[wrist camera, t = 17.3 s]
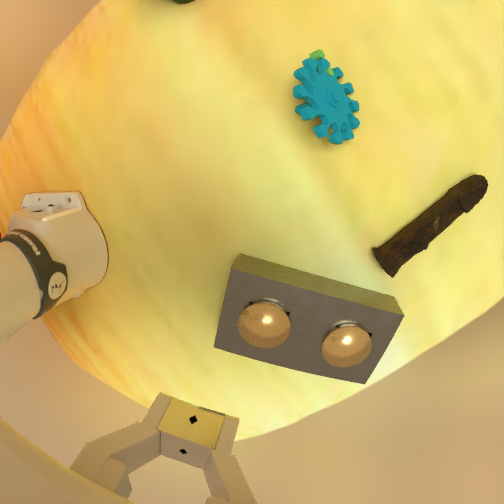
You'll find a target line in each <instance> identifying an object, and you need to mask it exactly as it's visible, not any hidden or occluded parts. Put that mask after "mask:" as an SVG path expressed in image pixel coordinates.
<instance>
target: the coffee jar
mask: <svg viewBox="0 0 504 504" xmlns="http://www.w3.org/2000/svg"><path fill="white" fill-rule="evenodd" d="M172 1H175V2H187V1H190V0H172Z"/></svg>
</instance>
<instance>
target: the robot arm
mask: <svg viewBox="0 0 504 504" xmlns="http://www.w3.org/2000/svg"><path fill="white" fill-rule="evenodd" d="M70 198H71V200H70ZM107 263H108V253H107V246H106V242H105V239H104V236H103V233H102V231H101V229H100V227H99V225H98V224H97V222H96V221H95V219H94V218H93V217H92V215H91V214H90V213H89V211H88V210H87V208H86V205H85V202H84V199H83V197H82V195H81V194H80V193H79V192H77V191H73V192H43V193H29V194H27V195H25V197H24V199H23V202H22V206H21V209H20V210H18V211H15V212H14V213H13V214H12V215H11V217H10V220H9V225H8V234H7V235H6V236H5V237H3V238H2V239H1V233H0V348H1V347H2V345H3V344H4V343H5V342H6V341H7V340H8V339H9V338H10V337H11V336H12V335H13V334H14V333H15V332H17V331H18V330H19V329H20V328H21V327H22V326H23V325H25V324H26V323H27V322H28V321H30V320H31V319H36V318H38V317H40V316H41V315H44V314H45V313H46V312H47V311H48V310H50V309H51V308H53V307H55V306H57V305H59V304H60V303H62V302H64V301H66V300H68V299H69V298H71V297H75V298H77V297H79V296H81V295H82V294H83V293H84V291H85V290H86V289H87V288H90V287H93V286H95V285H97V284H98V283H99V282H100V281H101V280H102V278H103V277H104V275H105V272H106V269H107ZM238 424H239V418H236V417H232V416H229V415H225V414H223V413H219V412H216V411H213V410H209V409H206V408H203V407H200V406H199V407H198V406H195V405H192V404H190V403H187V402H184V401H182V400H179V399H177V398H174V397H172V396H169V395H166V394H164V393H161V392H160V393H159V394H158V396H157V397H156V399H155V401H154V403H153V404H152V406H151V408H150V410H149V411H148V413H147V415H146V417H145V418H144V420H143V422H142V423H140V422H136V423H134V424H132V425H130V426H127V427H125V428H123V429H121V430H118V431H116V432H113V433H111V434H108V435H106V436H103V437H101V438H98V439H96V440H93V441H91V442H88V443H86V445H85V446H84V447H83V449H82V450H81V452H80V454H79V455H78V456H77V458H76V459H75V461H74V462H73V464H72V465H71V467H70V468H68V467H67V466H65V465H63V464H62V463H60V462H59V461H57V460H56V459H54V458H53V457H51V456H50V455H48V454H47V453H46V452H44V451H43V450H41V449H40V448H39V447H37V446H36V445H35V444H33V443H32V442H30V441H29V440H28V439H27V438H25V437H24V436H23V435H22V434H20V433H19V432H18V431H17V430H16V429H14V428H13V427H12V426H11V425H10V424H8V423H7V422H6V421H5V420H4V419H3V418H2V417H0V504H137V503H135V502H133V501H130V500H128V498H129V496H130V494H131V491H132V488H131V484H130V481H129V477H128V474H129V473H131V472H133V471H134V470H136V469H138V468H140V467H141V466H143V465H145V464H146V463H148V462H150V461H151V460H153V459H155V458H156V457H158V456H160V455H163V456H166V457H169V458H172V459H175V460H178V461H181V462H184V463H186V464H189V465H192V466H195V467H198V468H201V469H204V474H205V477H206V480H207V483H208V486H209V489H210V492H211V495H212V496H211V497H209V498H207V501H206V503H205V504H257V502H256V500H255V498H254V496H253V494H252V492H251V490H250V488H249V486H248V483H247V481H246V479H245V477H244V475H243V473H242V471H241V469H240V466H239V464H238V462H237V460H236V457H235V455H232V454H231V450H232V447H233V443H234V439H235V435H236V432H237V428H238Z"/></svg>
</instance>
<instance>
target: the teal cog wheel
mask: <svg viewBox="0 0 504 504" xmlns="http://www.w3.org/2000/svg"><path fill="white" fill-rule="evenodd" d="M324 56H325V55H324V52H323V51H322V50H320V49H319V50H317V51H315V52H313V53H311V54H310V58H309V59H306V60H304V61H303V65H304V67H302V68H299V69H297V70H296V71H295V72H294V73H293V74H294V76H295V78H296V79H298V80H300V81H301V82H302V83H303V84H304V85H302V84H300V85H297V86H295V87H294V89H293V96H294V97H295V98H297V99H304V100H306V101H307V103H304V104H302V105H299V106H296V107H295V111H296V113H298V114H301V116H302V119H303V120H304V121H307V120H310V119H313V118H314V117H315V116H317V117H319V118H320V119H321V120H322V124H320V125H317V126H314V128H313V131H314V133H315V134H316V135H317V136H318V138H322V137H326V136H327V135H328V129H329V127H330V125H331V126H332V128H333V131H332V133H331V134H330V135H329V141H330V142H331V143H333V144H335V145H336V144H341V143H342V140H349V139H353V138H354V134H353V132H352V130H351V129H355V128H358V126H359V124H360V122H359V120H358V119H357V118H356V117H355V116H354V115H353V113H352V112H357V111H359V103H358V102H357V101H354V100H351V99H350V98H349V97H348V96H347V95H346V94H350V93H353V92H354V90H353V87H352V84H351V83H346V84H343V85H342V84H340V83H338V81H337V79H338V78H341V77H343V73H342V71H341V70H340V68H339V67H336V68H333V69H331V68H329V67H330V63H329V62H328V61H327V60H326V59H324V58H323V57H324ZM305 87H306V88H305ZM341 127H342V132H341Z"/></svg>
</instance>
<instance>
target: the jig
mask: <svg viewBox="0 0 504 504" xmlns="http://www.w3.org/2000/svg"><path fill="white" fill-rule="evenodd" d="M403 317H404V314H403V312H402V310H401V309H400V307H399V305H398V303H397V301H396V300H395V298H394V297H392V296H388V295H385V294H381V293H377V292H374V291H370V290H367V289H363V288H359V287H356V286H352V285H349V284H345V283H342V282H338V281H335V280H331V279H327V278H324V277H320V276H317V275H313V274H310V273H306V272H303V271H299V270H296V269H292V268H289V267H285V266H282V265H278V264H275V263H271V262H267V261H264V260H260V259H257V258H253V257H250V256H246V255H243V254H239V256H238V258H237V260H236V261H235V263H234V265H233V266H232V268H231V273H230V277H229V281H228V285H227V290H226V294H225V298H224V303H223V307H222V312H221V316H220V320H219V325H218V329H217V334H216V338H215V343H214V347H215V348H218V349H221V350H225V351H228V352H231V353H234V354H238V355H241V356H245V357H248V358H252V359H255V360H259V361H263V362H266V363H270V364H274V365H278V366H282V367H286V368H290V369H294V370H298V371H302V372H307V373H311V374H316V375H320V376H325V377H330V378H335V379H340V380H345V381H350V382H355V383H361V384H365V383H366V382H367V380H368V378H369V377H370V375H371V374H372V372H373V370H374V369H375V367H376V366H377V364H378V362H379V361H380V359H381V357H382V355H383V354H384V352H385V350H386V349H387V347H388V345H389V343H390V341H391V340H392V338H393V336H394V334H395V332H396V330H397V329H398V327H399V325H400V323H401V321H402V319H403ZM344 324H355V325H359V326H361V327H363V328H364V329H365V330H367V332H368V333H369V335H370V338H371V342H372V347H371V351H370V353H369V355H368V356H367V357H366V358H365V359H364V360H363V361H362V362H360V363H359V364H357V365H354V366H351V367H336V366H333V365H331V364H329V363H328V362H327V361H326V360H325V359H324V357H323V354H322V342H323V339H324V337H325V336H326V335H327V333H328V332H329V331H331V330H332V329H334V328H335V327H336V326H337V325H344Z"/></svg>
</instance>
